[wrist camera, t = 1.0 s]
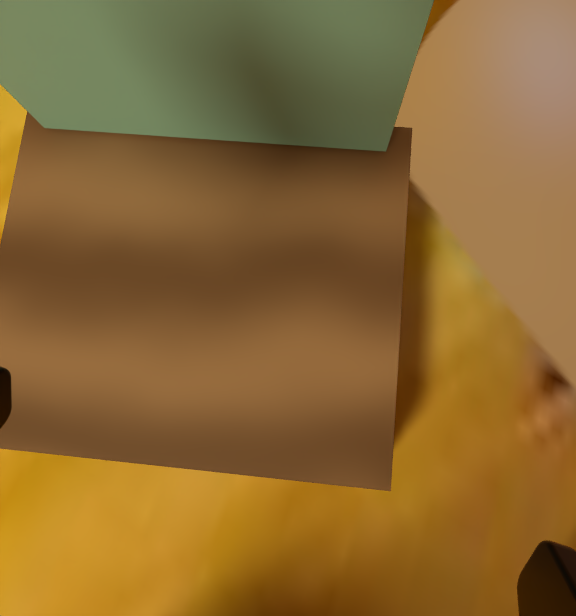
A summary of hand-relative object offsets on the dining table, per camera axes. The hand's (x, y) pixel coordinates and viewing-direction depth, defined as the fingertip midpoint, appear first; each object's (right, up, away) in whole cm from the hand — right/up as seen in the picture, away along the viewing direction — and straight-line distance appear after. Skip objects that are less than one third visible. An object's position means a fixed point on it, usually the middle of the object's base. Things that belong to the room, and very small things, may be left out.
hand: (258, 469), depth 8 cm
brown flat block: (-3, +3, +15) cm, 16 cm away
